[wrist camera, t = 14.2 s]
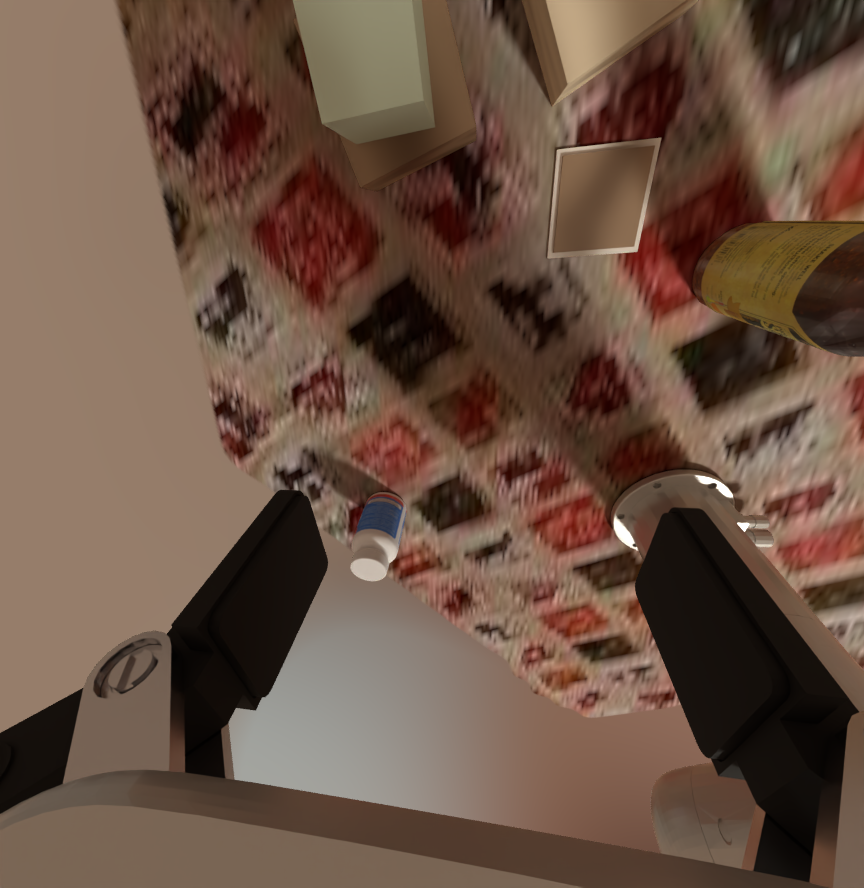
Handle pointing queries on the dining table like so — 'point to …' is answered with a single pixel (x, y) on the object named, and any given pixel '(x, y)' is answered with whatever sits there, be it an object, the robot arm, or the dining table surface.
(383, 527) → the pill bottle
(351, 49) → the sage block
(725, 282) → the sauce bottle
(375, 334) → the dining table surface
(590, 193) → the swatch
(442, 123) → the tan square block
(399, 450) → the dining table surface
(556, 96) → the beech block
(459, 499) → the dining table surface
